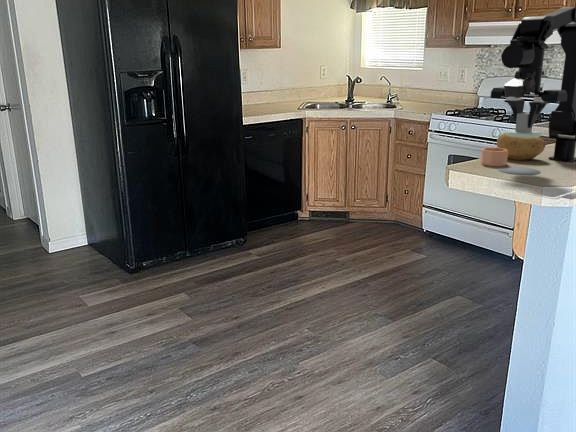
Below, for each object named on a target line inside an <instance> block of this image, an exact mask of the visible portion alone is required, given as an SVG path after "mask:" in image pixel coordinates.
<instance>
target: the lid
mask: <svg viewBox="0 0 576 432" xmlns="http://www.w3.org/2000/svg"><path fill="white" fill-rule="evenodd" d="M529 114H530V112H523V113H517V120H516V123H515V128H514V129H509V130H505V135H507V136H512V137H524V138H533V137H539V138H540V137H542V132H541V131H538V130H533V126H532V127H531V128H528V121H529Z"/></svg>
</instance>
